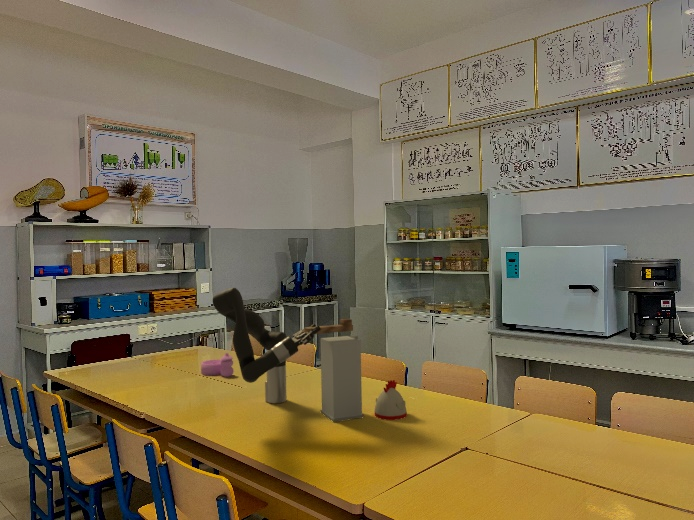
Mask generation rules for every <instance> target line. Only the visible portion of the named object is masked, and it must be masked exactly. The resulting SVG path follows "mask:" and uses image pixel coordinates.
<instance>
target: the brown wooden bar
mask: <svg viewBox="0 0 694 520" xmlns="http://www.w3.org/2000/svg"><path fill="white" fill-rule="evenodd" d="M352 320H353V319H351V318H340V319H339V324H332V325H318V326H319V327H320V328H321V330H320V331H318V332H317V333H316V334H315V335H319V334H322V335H323V334H331V333H344V332H353V331H354V325H353V321H352ZM313 328H315V327H310V326H308V327H306V326H305V327H303V329H304V333H305V332H306V333H307V332H308V331H310V330H312V329H313Z"/></svg>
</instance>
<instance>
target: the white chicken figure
mask: <svg viewBox="0 0 694 520" xmlns="http://www.w3.org/2000/svg"><path fill="white" fill-rule="evenodd" d="M397 384H398V382H397V381H395V379H392V380H387V383H385V387H383V390H382V391H381V392H380V393H379V395H378V396H377V398H375V405H374V417H375V416H376V417H375V418H377V417H378V418H377V419H379V418H381V419H380V420H384V419H386V420H385V421H396V420H395V419H398V420H401V418H402V419H404V417H405V418H406V417H407V416H408V415H407V413H408V412H407V406H406V401H405V400H404V398H403V396H402V395H401V393H400V392H399V391H398V390H397V389H396V388H397ZM406 415H407V416H406Z"/></svg>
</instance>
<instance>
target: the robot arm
mask: <svg viewBox="0 0 694 520" xmlns="http://www.w3.org/2000/svg"><path fill="white" fill-rule="evenodd" d="M212 305H213V307H214V309H215V310H216V311H217V312H218V313H219V314H220V315H221V316H223V317H225V318H226V319H228V320H230V321H232V322H233V323H235V326H234V329H233V334H232V345H233V349H234V352H235V355H236V357H237V358H236V359H237V361H238V363H239V369H240V372H241V376H242V379H243V380H244V381H245V382H247V383H249V384H250V383H252V384H253V383H254V382H256V381H258V379H259V378H260V377H262V376H263V375H264V374H266V380H265V382H264V391H265V392H264V394H265V395H264V396H265V402H266V403H267V402H268V403H269V404H281V403H285V402H287V359H289V358H290V357H292V356H293V355H296V354H297V353H298V352H299V347H300V346H301V345H305V346H306V345H307V344H308V343H310V341H312V340H313V339H314V338H315V335H317V334H316V333H317V332H318V331H320V330H321V328H320V327H319V326H320V325H316V324H315V323H314V324H311V325H310V326H309V327H315V328H313V329H312V330H310V331H308V332H307V333H306V332H305V333H304V328H302V329H300V330H299V331H297V332H295V333H293V334H292V337H290V336H287V334H286V333H285V331H284V332H283V331H273V330H271V331H270V330H268V329H266V328H265V321H264V318H262V317H261V315H259V314H258V313H257V312H255V311H254V310H251V309H248V308H245V304H244V300H243V296H242V294H241V292H240V291H239V290H238V288H237V287H230V288H228V289H226V290H223V291H220V292H218V293H217V294H215V295H214V296H213V298H212ZM250 336H251V337H252V338H253V339H255V340H256V341H257V342H258V343H259V344H260V345H261V347H263V349H265V350H266V352H264V353H263V354H262V355H260V356H259V357H258V358H255V355H254V354H255V353H254V349H253V346H252V342H251V339H250Z"/></svg>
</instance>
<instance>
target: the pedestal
mask: <svg viewBox="0 0 694 520" xmlns="http://www.w3.org/2000/svg"><path fill="white" fill-rule="evenodd" d="M361 342H362V341H361V339H359V337H358V335H355V334H349V335H342V336H331V337H321V338H320V373H321V374H320V376H321V377H320V378H321V379H320V380H321V382H320V383H321V384H320V385H321V409H320V410H319V412H321V413H320V414H321V415H323V414H324V415H325V416H324V415H323V416H324V417H326V418H327V417H328V418H329V419H330V420H329V419H328V418H327V419H328V420H329V421H331V420H332V421H333V422H332V421H331V422H332V423H335V422H334V421H338V422H343V421H342V420H345V421H349V420H348V419H351V420H355V419H354V418H358V419H363V418H362V417H365V416H364V414H363V399H362V398H363V397H362V394H363V393H362V389H363V387H362V346H361V345H362V343H361Z"/></svg>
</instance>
